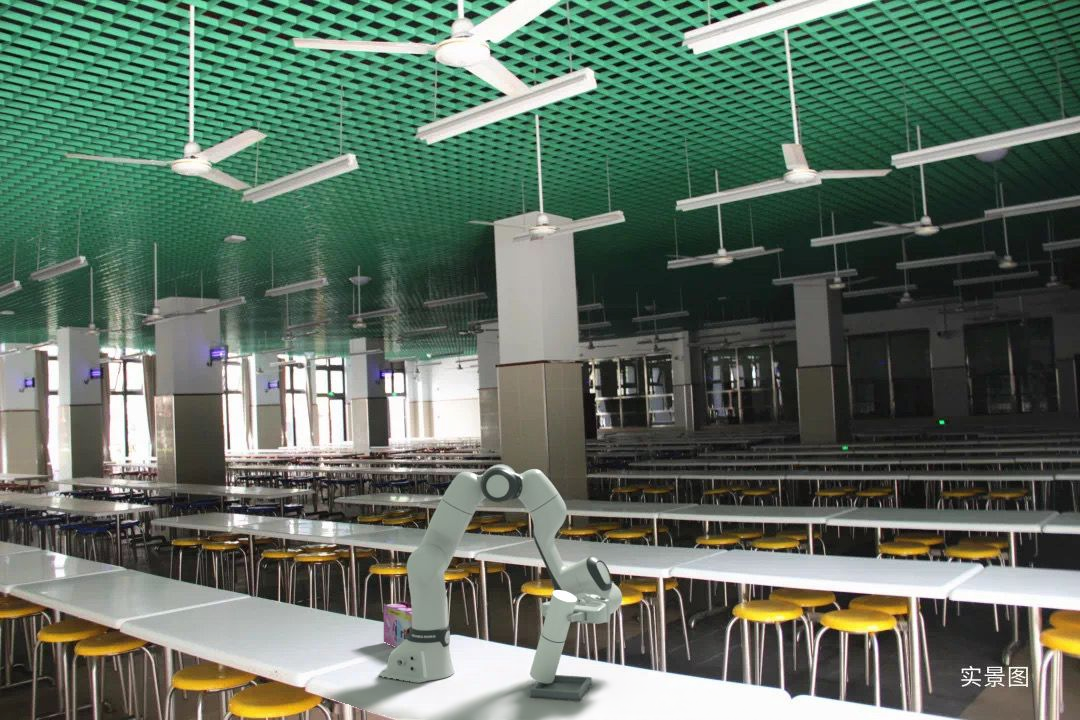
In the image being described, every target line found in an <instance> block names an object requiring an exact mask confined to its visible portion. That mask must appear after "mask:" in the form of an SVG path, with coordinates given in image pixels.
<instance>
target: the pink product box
mask: <svg viewBox="0 0 1080 720" xmlns="http://www.w3.org/2000/svg"><path fill="white" fill-rule="evenodd" d="M411 625H412V606H411V602H410V603H409V602H407V601H404V600H399V601H397V603H390V604H386V603H383V643H384V642H386V643H388V644H390V645H393V646H395V647H398V646H399V645H400V644H401V643H402V642H403V641H405V640H406V639H407V634H406V635H404V633H405V632H404V631H406V630H407V629H408V628H409V627H411Z"/></svg>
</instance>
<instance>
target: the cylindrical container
mask: <svg viewBox="0 0 1080 720" xmlns="http://www.w3.org/2000/svg"><path fill="white" fill-rule="evenodd" d="M576 601H577V598H576V597H575V596H574V595H573V594H571V593H569V592H566V591H562V590H555V591H554V590H553V591H552V593H551V598H550V604H549V607H548V611H547V615H546V618H545V617H544V622H543V625H542V630H541V633H540V636H539V640H538V642H537V643H538V644H537V647H536V651H535V654H534V657H533V661H532V665H531V668H530V671H529V675H530V677H531V678H532V679H533V680H534V681H536V682H541V683H546V684H549V683H552V682H553V681H554V678H555V675H557V670H558V668H559V667H558V666H559V664H560V661H561V656H562V653H563V650H564V646H565V642H566V640H567V635H568V633H569V628H570V624H571V622H569V621H568V615H570V614H573V612H574V608H575V605H576Z"/></svg>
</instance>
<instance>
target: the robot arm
mask: <svg viewBox="0 0 1080 720" xmlns="http://www.w3.org/2000/svg"><path fill="white" fill-rule="evenodd" d="M484 499H487V500H488V501H491V502H493V503H499V504H500V503H505V502H508V501H513V500H515V499H518V500H520V502H521V503H522V504H523V505H524V507H525V509H526V511H527V512H528V514H529V515H530V518H531V519H532V524H533V529H532V537H533V539H534V542H535V545H536V547H537V549H538V552H539V554H540V557H541V559H542V561H543V563H544V565H545V568H546V570H547V573H548V575H549V577H550V580H551V584H552V588H553V591H555V590H562V591H566V592H569V593H571V594H573V595H574V596H575V597H576V598H577V601H576V605H575V608H574V612H573V614H570V615H568V621H569V622H570V623H574V622H577V623H579V624H582V625H583V624H584V625H587V624H594V625H595V624H596V625H598V624H603V623H604V624H605V623H609V622H611V615H612V614H613V613H615V612H616V611H617V610H619V609H620V606H621V605H622V602H623V594H622V591H621V589H620V588H619V587H618V585H616V584H615V583H613V582H612V575H611V572H610V570H609V568H608V566H607V564H606V563H605V562H604V561H603V560H602V559H600V558H599V557H597V556H594V555H592V556H591V555H590V556H588V557H586V558H584V559H581V560H580V561H577V562H576V563H574V564H572V565H570V566H566V565H565V564H564V562H563V560H562V557H561V554H560V553H559V550H558V549H557V546H556V543H555V542H556V541H555V537H556V534H557V533H558V531H559V530H560V528H561V527H562V526H563V524H564V522H566V521H565V520H566V518H567V514H568V513H567V511H568V510H567V506H566V503H565V501H564V499H563V498H562V496H561V494H560V493H559V491H558V490H557V488H556V487H555V486H554V484H553V483H552V481H551V480H550V479H549V477H547V476H546V475H545V474H544V472H543V471H541V470H540V469H539V468H538V469H537V468H533V469H528V470H526V471H524V472H522V473H517V472H516V471H515V469H514V468H513V467H512V466H510V465H508V464H505V463H497V464H494V465H492V466H490V467H489V468H488V469H486V470H485V471H483V472H482V473H480V474H477V473H474V472H471V471H461V472H459V473H458V474H456V476H455V477H454V479H453V480H452V481H451V483H450V484H449V485H448V487H447V489H445V492H444V494H443V496H442V498H441V499H440V501H439V503H438V506H437V507H436V509H435V511H434V513H433V515H432V517H431V519H430V522H429V524H428V526H427V529H426V531H425V533H424V536H423V538H422V540H421V542H420V544H419V545H418V547H417V549H415V550H414V551H412V552H411V554H410V555H409V557H408V559H407V562H406V563H407V564H406V573H407V580H408V587H409V593H410V600H411V601H410V604H411V606H412V625H411V627H409V628H408V629H407V630H406V631H404V632H405V633H404V635H406V634H407V639H406V640H405V641H403V642H402V643H401V644H400V645H399V646H398V647H396V648H394V649H393V650H391V652H390V654H389V655H388V659H387V665H386V666H385V667H384V668H382V669H381V670H380V672H379V677H380V676H382V677H381V678H384V677H387V678H386V679H390V678H393V679H392V680H396V679H399V680H398V681H403V680H404V681H403V682H409V681H410V682H411V683H417V684H419V683H424V682H428V681H435V680H441V679H445V678H447V677H450V676H453V674H454V673H455V669H454V666H453V662H452V659H451V658H452V657H451V652H450V641H451V640H450V639H451V633H450V632H451V631H450V629H451V628H450V624H449V614H448V613H449V611H448V610H449V609H448V606H449V605H448V597H447V591H446V589H447V588H446V579H445V572H446V571H447V569H448V567H449V566H450V564H451V561H452V560H453V557H454V555H455V553H456V551H457V549H458V547H459V544H460V543H461V540H462V538H463V536H464V534H465V532H466V530H467V529H468V526H469V524H470V522H471V521H472V518H473V516H475V515H474V514H475V512H476V510H477V508H478V507H479V505H480V503H481V502H482V501H484ZM549 604H550V601H546V602H542V603H541V606H540V607H541V608H540V609H541V610H540V613H541V616H543V617H544V619H545V618H546V615H547V611H548V607H549Z"/></svg>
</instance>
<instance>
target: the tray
mask: <svg viewBox="0 0 1080 720" xmlns="http://www.w3.org/2000/svg"><path fill="white" fill-rule="evenodd" d="M592 681H593V680H592V677H591V676H579V675H565V674H564V675H562V674H556V675H555V678H554V681H553V682H552V683H549V684H546V683H541V682H538V681H536V683H535V684H534V685H533V686H532V687H531V688H530V689H529V692H530V693H529V695H530V696H529V697H530V698H531V699H532V698H534V699H546V700H556V701H557V700H560V701H571V702H580V701H581V700H582V699H583V698H584V696H585V695H586V693H588V691H589V689H590V688H591V687H592V685H593V684H592V683H593V682H592ZM590 686H591V687H590ZM587 690H588V691H587Z"/></svg>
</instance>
